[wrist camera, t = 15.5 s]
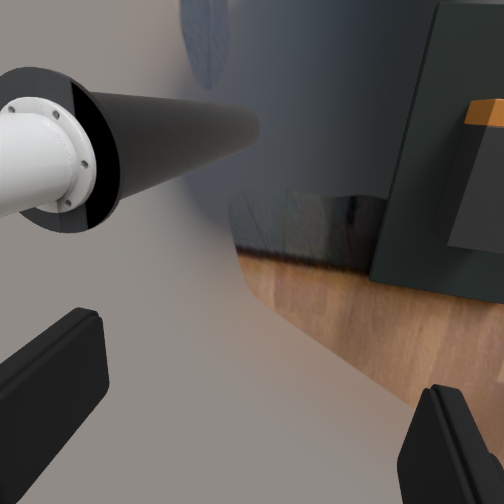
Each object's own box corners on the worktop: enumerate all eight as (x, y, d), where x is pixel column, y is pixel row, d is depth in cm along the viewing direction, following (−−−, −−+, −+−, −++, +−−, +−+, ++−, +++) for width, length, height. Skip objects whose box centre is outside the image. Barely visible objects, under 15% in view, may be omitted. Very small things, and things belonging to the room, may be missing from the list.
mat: (368, 276, 33) (369, 281, 32) (435, 7, 24) (439, 2, 23) (502, 298, 31) (508, 305, 30) (627, 13, 22) (642, 8, 21)
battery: (431, 227, 29) (446, 245, 25) (474, 89, 25) (500, 84, 21) (487, 235, 28) (511, 255, 24) (541, 94, 24) (581, 90, 20)
